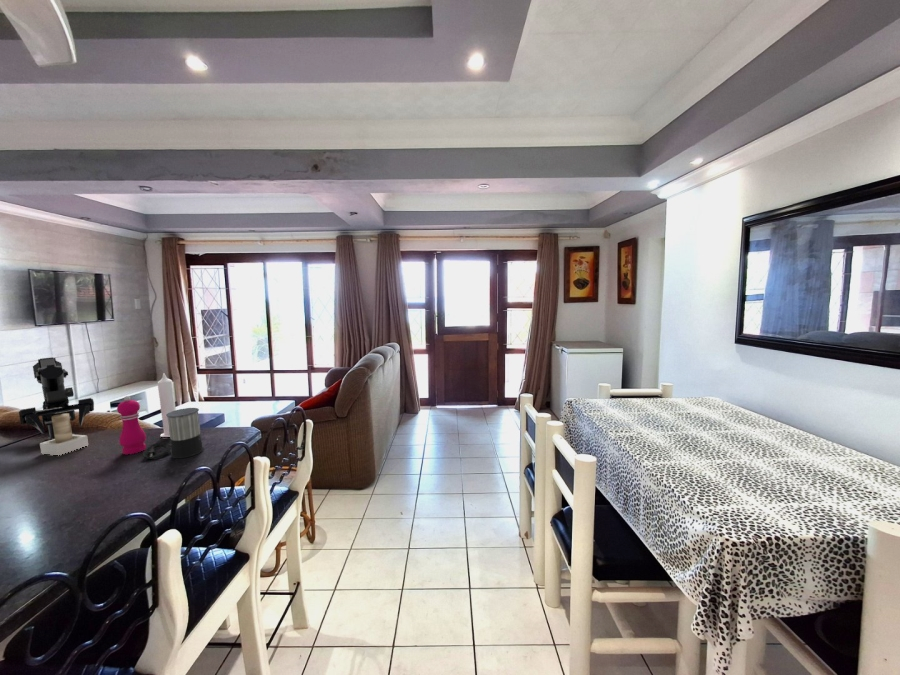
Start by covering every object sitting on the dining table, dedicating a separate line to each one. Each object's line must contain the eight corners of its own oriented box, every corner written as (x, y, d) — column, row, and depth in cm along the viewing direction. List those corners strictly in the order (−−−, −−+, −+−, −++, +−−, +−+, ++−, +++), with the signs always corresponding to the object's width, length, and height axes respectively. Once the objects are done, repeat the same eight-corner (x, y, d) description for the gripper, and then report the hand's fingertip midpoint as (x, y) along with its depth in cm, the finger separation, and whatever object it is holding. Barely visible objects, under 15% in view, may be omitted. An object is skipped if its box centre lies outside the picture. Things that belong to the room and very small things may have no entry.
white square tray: (41, 454, 132) (39, 443, 131) (72, 444, 140) (70, 434, 140) (58, 456, 129) (56, 445, 129) (88, 445, 138) (87, 435, 137)
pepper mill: (153, 447, 134) (145, 393, 132) (134, 455, 127) (126, 399, 125) (135, 446, 135) (127, 393, 133) (115, 455, 128) (107, 399, 126)
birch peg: (54, 451, 134) (49, 416, 132) (71, 446, 138) (65, 412, 136) (60, 453, 132) (54, 417, 130) (76, 448, 136) (71, 414, 134)
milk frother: (207, 452, 128) (202, 410, 126) (149, 469, 117) (143, 423, 115) (196, 442, 138) (191, 403, 136) (141, 456, 126) (135, 414, 124)
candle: (186, 432, 148) (179, 371, 145) (168, 439, 142) (160, 375, 139) (174, 431, 151) (166, 370, 148) (155, 437, 144) (147, 374, 141)
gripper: (14, 387, 127) (20, 424, 121) (89, 377, 141) (98, 410, 136) (17, 405, 133) (24, 442, 127) (89, 394, 147) (97, 426, 142)
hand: (62, 429), depth 133 cm, fingers open, 9 cm apart
